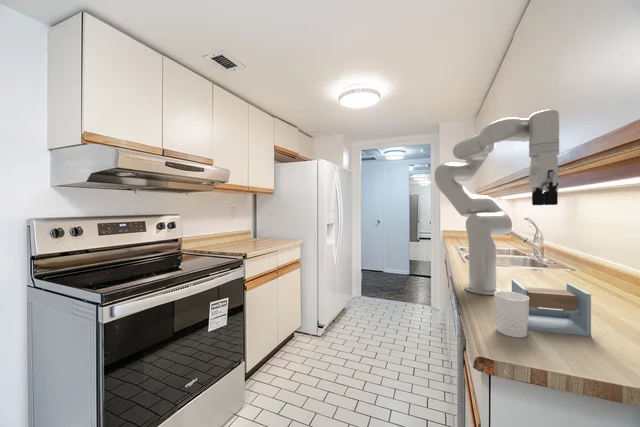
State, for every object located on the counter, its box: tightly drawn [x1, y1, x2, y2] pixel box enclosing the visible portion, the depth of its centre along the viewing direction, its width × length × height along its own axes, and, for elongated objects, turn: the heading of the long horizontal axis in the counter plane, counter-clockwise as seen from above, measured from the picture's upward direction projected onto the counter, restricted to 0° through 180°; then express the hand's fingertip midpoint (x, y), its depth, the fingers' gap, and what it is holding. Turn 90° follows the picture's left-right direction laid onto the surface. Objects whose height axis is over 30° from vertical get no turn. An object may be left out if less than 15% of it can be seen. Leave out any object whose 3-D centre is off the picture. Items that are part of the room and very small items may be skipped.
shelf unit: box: [511, 279, 592, 337], centre depth 79 cm, size 11×15×11 cm
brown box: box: [523, 286, 576, 311], centre depth 79 cm, size 6×10×4 cm, turn 70°
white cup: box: [493, 290, 530, 339], centre depth 75 cm, size 8×8×10 cm
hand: (544, 205), depth 88 cm, fingers open, 9 cm apart
